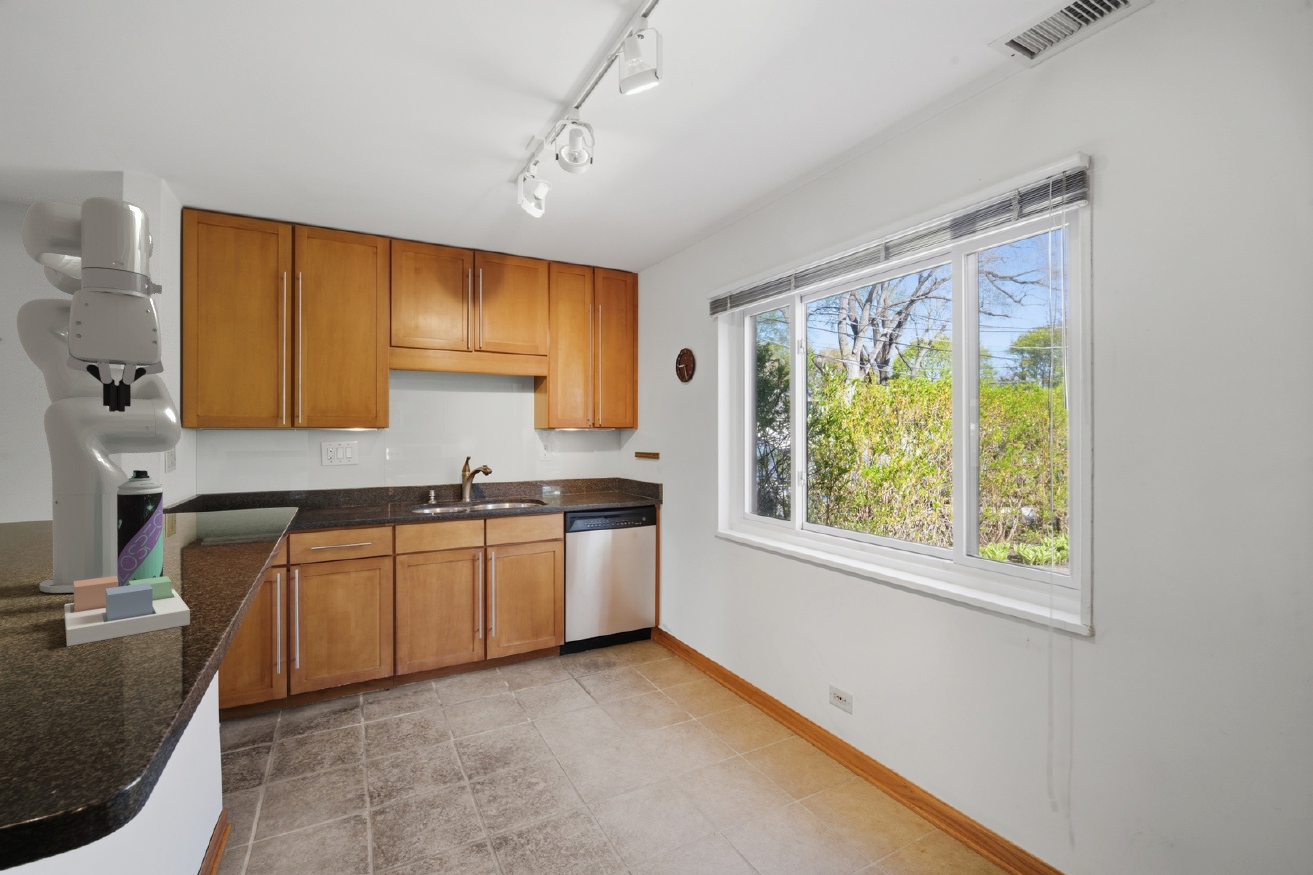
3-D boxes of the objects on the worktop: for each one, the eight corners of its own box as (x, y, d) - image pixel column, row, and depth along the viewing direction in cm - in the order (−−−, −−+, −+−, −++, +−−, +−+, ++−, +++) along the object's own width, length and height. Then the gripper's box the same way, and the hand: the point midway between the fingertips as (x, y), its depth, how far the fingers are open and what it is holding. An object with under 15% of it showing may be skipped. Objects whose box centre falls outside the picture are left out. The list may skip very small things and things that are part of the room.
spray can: (109, 602, 92) (108, 471, 92) (129, 593, 98) (129, 469, 97) (152, 600, 94) (151, 471, 93) (169, 590, 99) (169, 468, 99)
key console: (64, 618, 85) (64, 604, 84) (173, 601, 93) (173, 588, 93) (66, 646, 74) (66, 630, 74) (189, 624, 82) (189, 609, 82)
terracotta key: (73, 606, 84) (73, 581, 84) (116, 600, 87) (115, 575, 87) (74, 613, 81) (74, 587, 81) (118, 606, 84) (118, 581, 84)
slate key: (105, 614, 81) (105, 588, 81) (148, 607, 84) (148, 582, 84) (108, 622, 78) (107, 595, 77) (152, 614, 81) (152, 588, 81)
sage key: (128, 604, 88) (128, 580, 88) (167, 598, 91) (167, 575, 91) (131, 611, 85) (131, 586, 85) (171, 605, 88) (171, 581, 88)
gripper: (176, 298, 97) (177, 413, 97) (44, 282, 87) (45, 410, 87) (184, 291, 92) (184, 412, 92) (44, 273, 81) (45, 409, 82)
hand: (116, 411), depth 90 cm, fingers closed
